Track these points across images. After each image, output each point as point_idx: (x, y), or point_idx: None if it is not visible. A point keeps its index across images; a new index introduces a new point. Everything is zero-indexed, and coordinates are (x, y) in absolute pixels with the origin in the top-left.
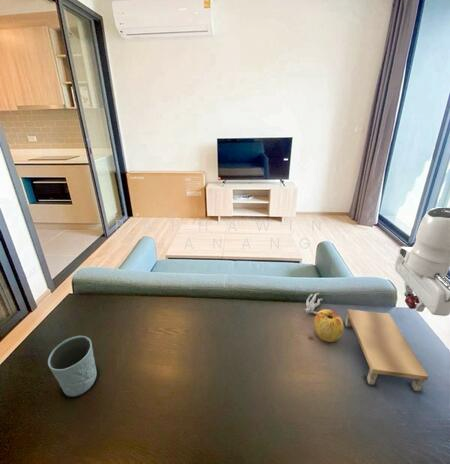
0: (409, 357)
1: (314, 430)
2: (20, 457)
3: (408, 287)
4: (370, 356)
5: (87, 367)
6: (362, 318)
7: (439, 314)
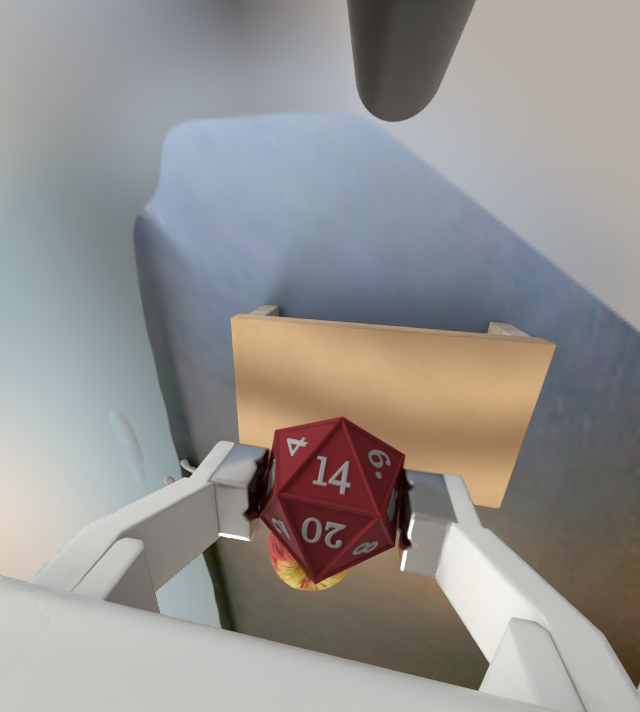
0: (463, 366)
1: (560, 592)
2: None
3: (164, 561)
4: None
5: None
6: None
7: None
